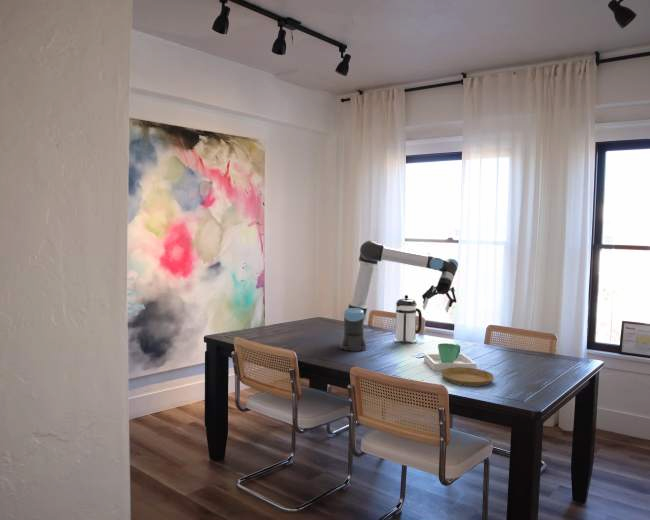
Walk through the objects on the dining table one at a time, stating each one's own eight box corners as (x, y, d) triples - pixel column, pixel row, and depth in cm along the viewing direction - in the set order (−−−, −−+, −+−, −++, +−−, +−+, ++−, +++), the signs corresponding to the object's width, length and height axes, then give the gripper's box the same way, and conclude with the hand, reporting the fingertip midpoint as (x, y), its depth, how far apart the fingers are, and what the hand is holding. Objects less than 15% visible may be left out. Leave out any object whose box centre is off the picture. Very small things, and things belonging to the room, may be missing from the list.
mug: (448, 367, 266) (449, 348, 266) (433, 363, 274) (434, 344, 273) (466, 363, 276) (466, 344, 275) (450, 359, 283) (451, 341, 283)
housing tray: (434, 371, 264) (434, 363, 263) (424, 360, 285) (424, 353, 285) (476, 371, 265) (476, 363, 264) (462, 361, 286) (463, 353, 286)
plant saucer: (502, 388, 238) (502, 380, 238) (450, 388, 236) (450, 381, 236) (482, 373, 262) (482, 367, 262) (434, 374, 260) (434, 367, 260)
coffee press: (417, 345, 323) (418, 297, 322) (391, 343, 328) (392, 295, 327) (421, 340, 340) (422, 294, 338) (396, 338, 345) (397, 292, 343)
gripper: (467, 287, 306) (457, 316, 294) (427, 283, 319) (416, 311, 307) (465, 278, 301) (454, 307, 289) (424, 275, 314) (412, 302, 303)
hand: (434, 309), depth 298 cm, fingers open, 13 cm apart
